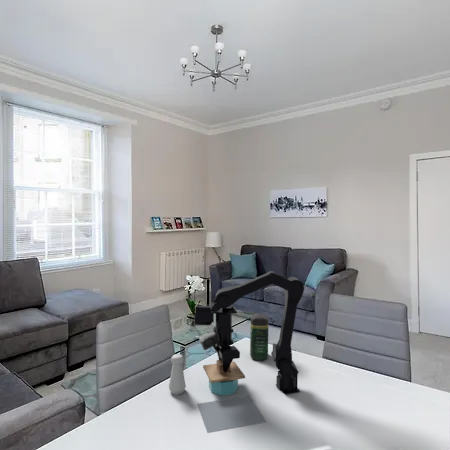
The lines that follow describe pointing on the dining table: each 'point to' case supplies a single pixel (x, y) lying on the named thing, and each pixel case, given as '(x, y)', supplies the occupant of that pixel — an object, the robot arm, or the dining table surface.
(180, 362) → the salt shaker
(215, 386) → the bowl
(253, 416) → the mat
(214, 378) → the lid
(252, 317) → the coffee jar
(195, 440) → the dining table surface
